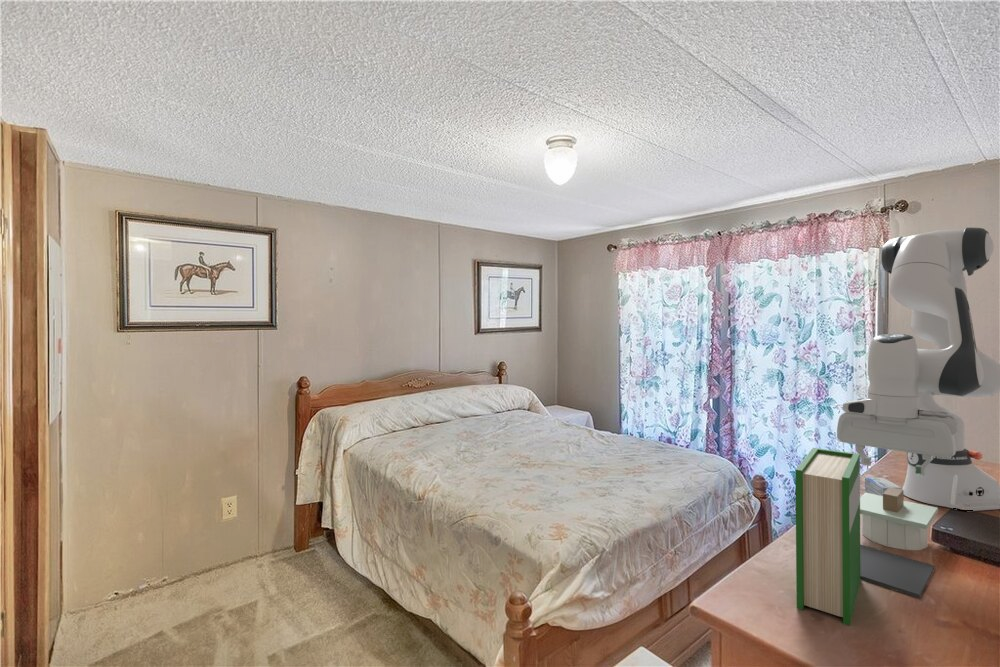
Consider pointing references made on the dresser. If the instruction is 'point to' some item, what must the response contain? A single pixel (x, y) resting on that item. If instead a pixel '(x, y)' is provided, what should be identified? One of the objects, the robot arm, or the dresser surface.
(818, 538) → the hardback book
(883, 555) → the mat
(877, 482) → the medicine box
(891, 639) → the dresser surface
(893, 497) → the lid
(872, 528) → the bowl
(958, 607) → the dresser surface
